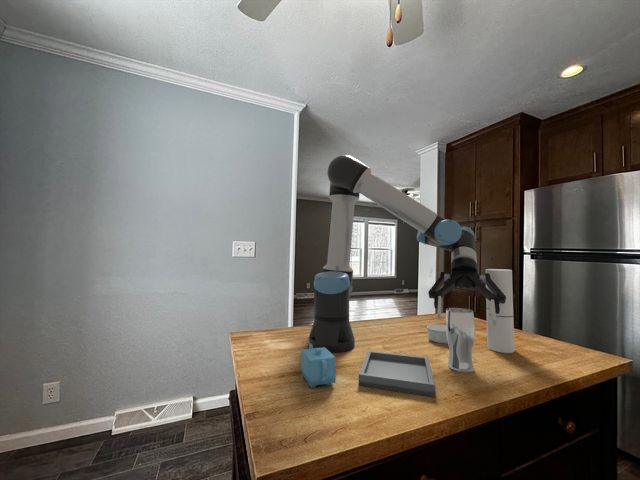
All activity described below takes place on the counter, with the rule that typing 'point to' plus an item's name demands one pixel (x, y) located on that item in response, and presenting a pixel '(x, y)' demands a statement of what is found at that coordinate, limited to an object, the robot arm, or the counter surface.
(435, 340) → the ramekin
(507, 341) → the cylindrical container
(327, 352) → the teapot
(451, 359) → the beer glass
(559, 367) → the counter surface
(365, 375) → the tray
